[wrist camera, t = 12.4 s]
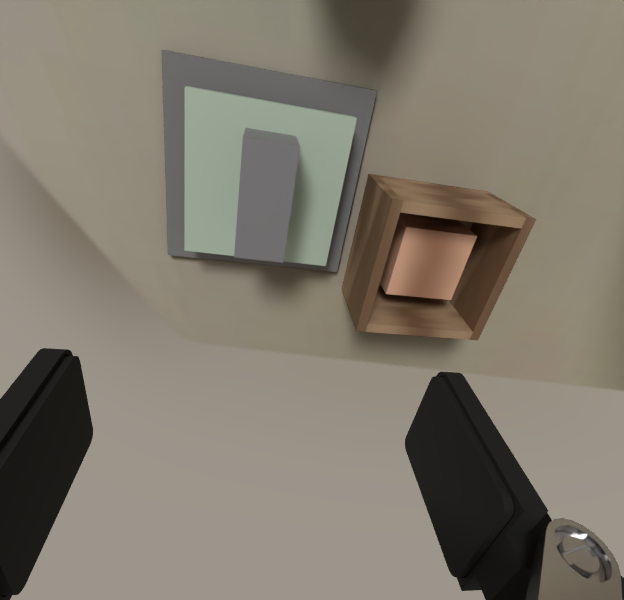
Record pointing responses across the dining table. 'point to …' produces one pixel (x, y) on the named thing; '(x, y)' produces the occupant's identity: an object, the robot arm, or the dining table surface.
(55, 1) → the dining table surface
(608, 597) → the robot arm
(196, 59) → the mat
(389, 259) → the box
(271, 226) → the lid
